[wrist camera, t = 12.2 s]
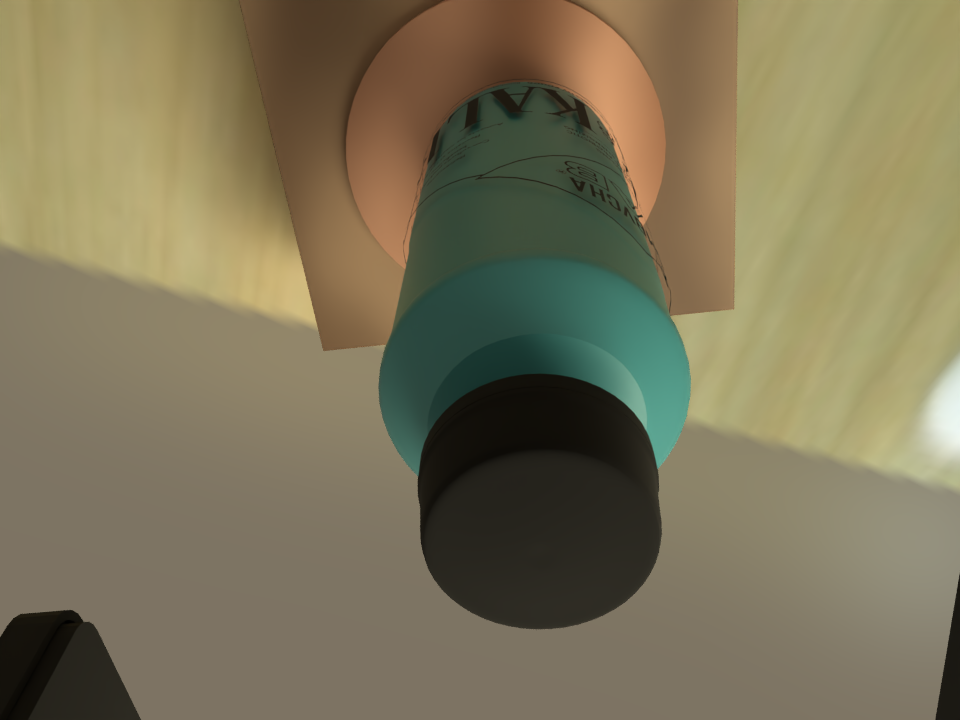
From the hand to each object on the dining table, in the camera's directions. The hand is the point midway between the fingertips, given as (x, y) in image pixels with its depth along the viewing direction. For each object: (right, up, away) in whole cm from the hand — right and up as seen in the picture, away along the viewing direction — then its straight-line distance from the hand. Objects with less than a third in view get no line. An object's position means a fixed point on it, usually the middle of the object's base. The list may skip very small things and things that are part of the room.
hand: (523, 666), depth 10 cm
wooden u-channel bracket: (+1, +15, +29) cm, 33 cm away
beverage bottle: (+1, +10, +22) cm, 24 cm away
